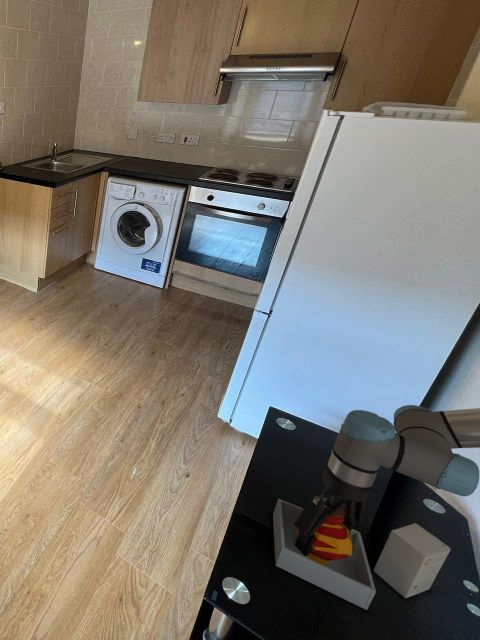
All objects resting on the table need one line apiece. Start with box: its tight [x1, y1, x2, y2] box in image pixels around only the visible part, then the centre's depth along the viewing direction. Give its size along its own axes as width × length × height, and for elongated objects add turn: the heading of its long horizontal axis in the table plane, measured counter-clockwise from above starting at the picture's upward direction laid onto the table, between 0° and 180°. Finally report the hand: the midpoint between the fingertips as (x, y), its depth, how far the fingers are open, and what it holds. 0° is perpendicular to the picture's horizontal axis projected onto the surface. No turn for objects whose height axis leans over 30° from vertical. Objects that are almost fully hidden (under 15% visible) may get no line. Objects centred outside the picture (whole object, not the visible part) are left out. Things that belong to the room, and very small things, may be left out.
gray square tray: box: [272, 498, 377, 611], centre depth 97 cm, size 16×16×6 cm
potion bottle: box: [297, 504, 352, 565], centre depth 96 cm, size 10×10×15 cm
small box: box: [373, 522, 451, 599], centre depth 92 cm, size 8×6×13 cm
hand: (318, 546), depth 97 cm, fingers closed on potion bottle, 10 cm apart
